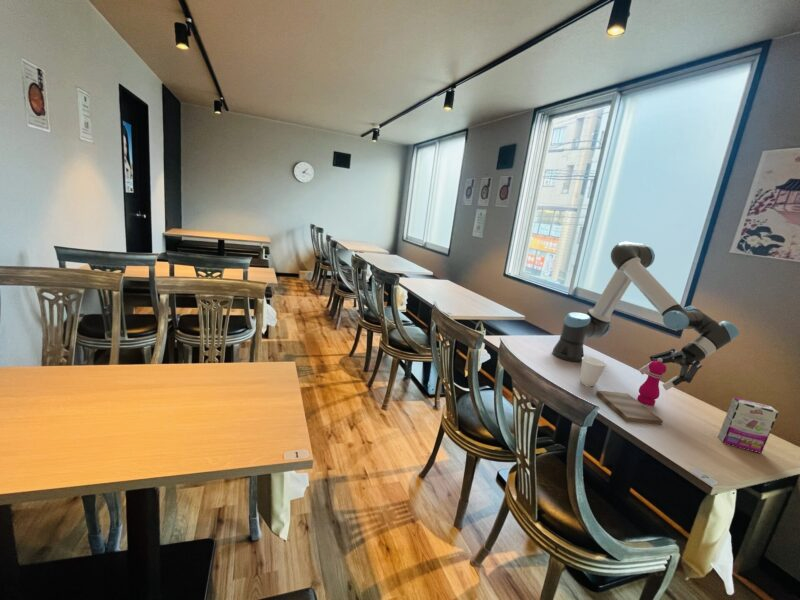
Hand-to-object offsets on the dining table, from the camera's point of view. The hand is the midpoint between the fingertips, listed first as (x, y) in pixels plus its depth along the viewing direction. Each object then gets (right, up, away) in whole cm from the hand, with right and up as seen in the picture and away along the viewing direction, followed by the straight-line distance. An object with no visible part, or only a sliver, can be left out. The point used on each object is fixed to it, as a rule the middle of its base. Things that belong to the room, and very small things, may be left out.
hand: (651, 379), depth 152 cm
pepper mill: (-1, -10, +3) cm, 11 cm away
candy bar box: (+17, -19, -21) cm, 33 cm away
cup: (-20, -5, +13) cm, 24 cm away
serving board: (-14, -10, -6) cm, 18 cm away
